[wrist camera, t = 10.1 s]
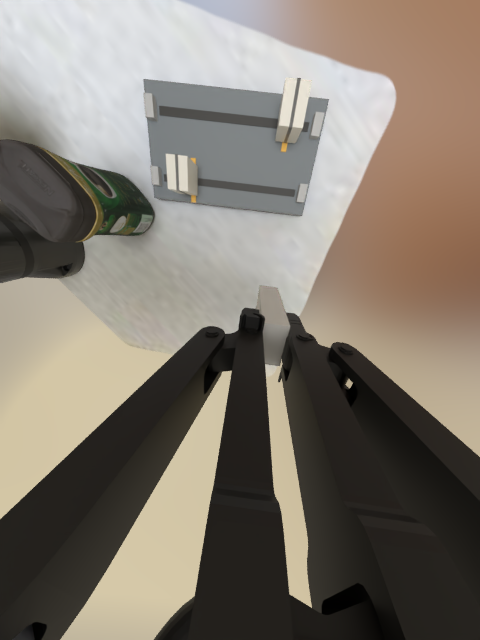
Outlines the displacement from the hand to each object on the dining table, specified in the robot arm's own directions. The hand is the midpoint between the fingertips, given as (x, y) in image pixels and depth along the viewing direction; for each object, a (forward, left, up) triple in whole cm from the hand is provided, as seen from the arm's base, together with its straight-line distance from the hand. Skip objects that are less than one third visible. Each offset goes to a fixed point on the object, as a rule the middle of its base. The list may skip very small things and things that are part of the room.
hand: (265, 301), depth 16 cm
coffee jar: (-26, +6, -25) cm, 36 cm away
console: (-7, +15, -24) cm, 29 cm away
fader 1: (-14, +11, -22) cm, 28 cm away
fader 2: (+1, +19, -22) cm, 29 cm away
